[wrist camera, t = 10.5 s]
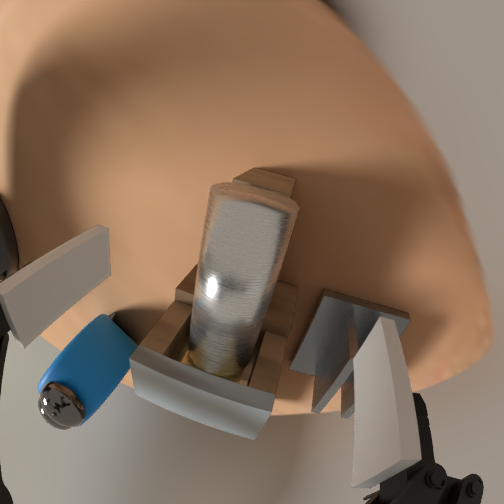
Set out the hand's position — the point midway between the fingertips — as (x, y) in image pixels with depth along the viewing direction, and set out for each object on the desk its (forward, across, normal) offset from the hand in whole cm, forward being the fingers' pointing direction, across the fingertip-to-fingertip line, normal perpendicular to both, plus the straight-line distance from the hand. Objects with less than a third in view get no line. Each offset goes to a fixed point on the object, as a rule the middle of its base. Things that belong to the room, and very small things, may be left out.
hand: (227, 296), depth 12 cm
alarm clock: (+9, -14, -19) cm, 26 cm away
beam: (+9, -1, -8) cm, 12 cm away
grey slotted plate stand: (+9, +10, -8) cm, 16 cm away
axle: (+4, 0, -1) cm, 4 cm away
